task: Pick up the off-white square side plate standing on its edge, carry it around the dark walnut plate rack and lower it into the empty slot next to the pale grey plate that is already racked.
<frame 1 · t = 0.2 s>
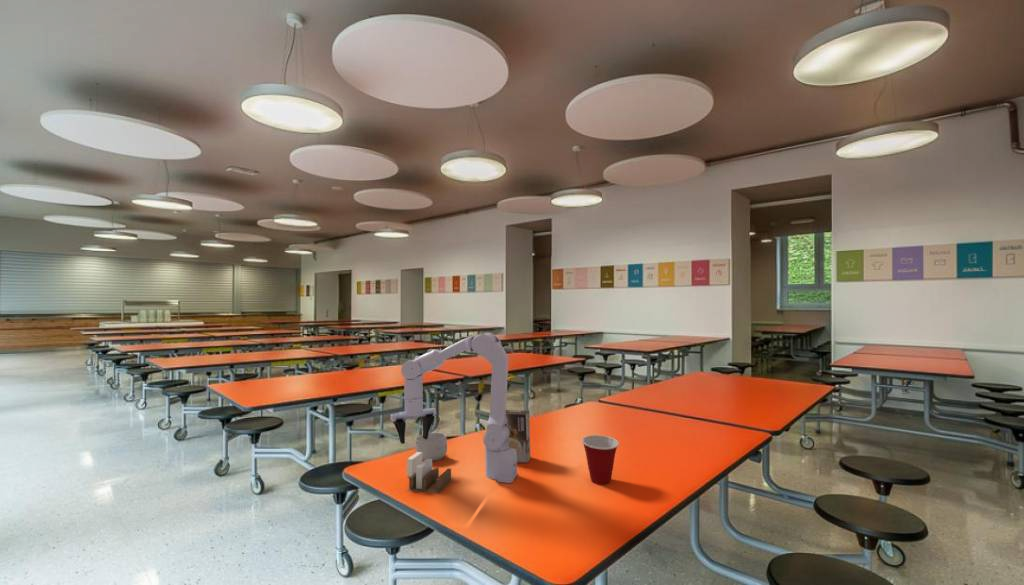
hand: (414, 440, 137), 10 cm above the table, fingers open, 7 cm apart
coffee box: (516, 459, 147), on the table
plate: (414, 475, 134), on the table
rack: (430, 487, 124), on the table
plastic cup: (601, 481, 127), on the table
racked plate: (424, 483, 125), point 1 cm above the table, touching rack
teacup: (433, 458, 150), on the table
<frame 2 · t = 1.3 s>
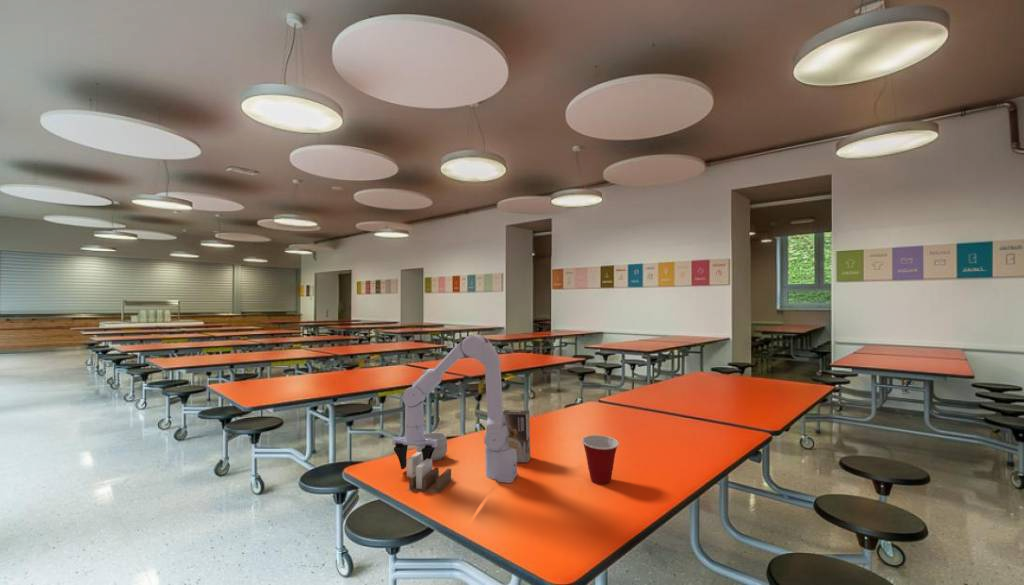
hand: (414, 468, 134), 2 cm above the table, fingers open, 7 cm apart
nothing on the table moved.
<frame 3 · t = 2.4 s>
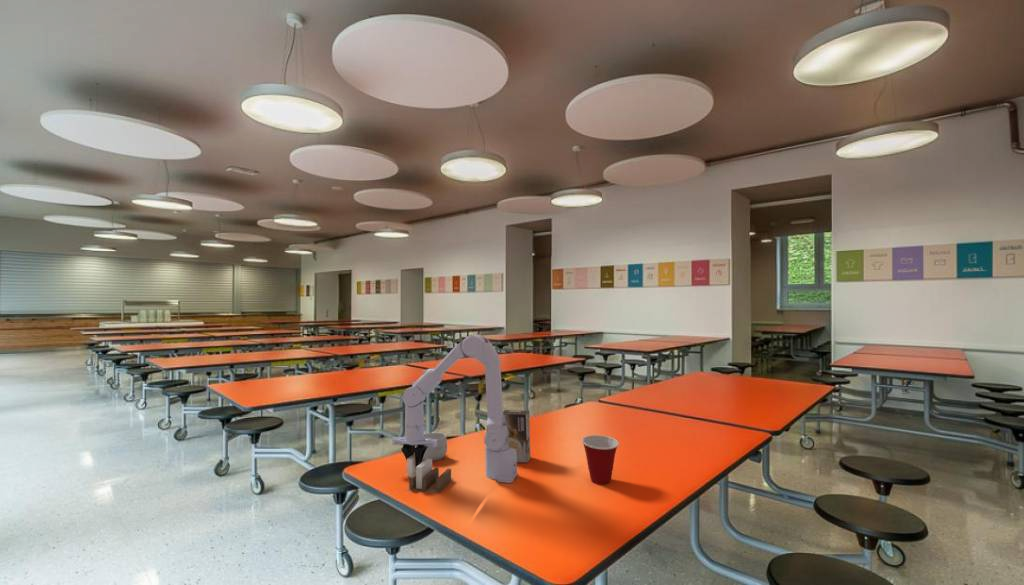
hand: (414, 468, 134), 2 cm above the table, fingers closed on plate, 2 cm apart
plate: (414, 474, 134), on the table, touching gripper
everything else where it was.
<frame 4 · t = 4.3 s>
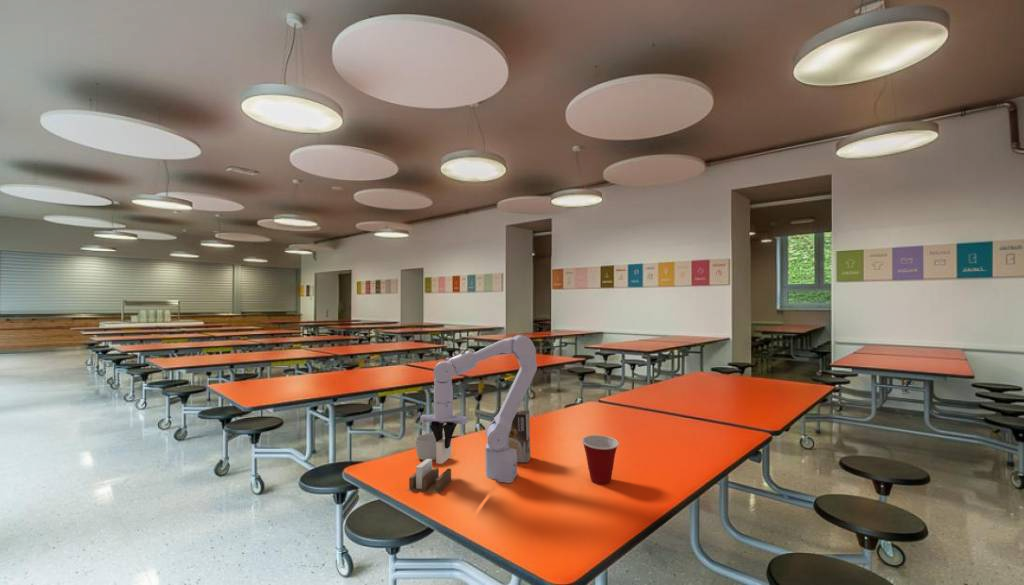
hand: (443, 447, 130), 10 cm above the table, fingers closed on plate
plate: (443, 459, 130), point 6 cm above the table, touching gripper
everything else where it was.
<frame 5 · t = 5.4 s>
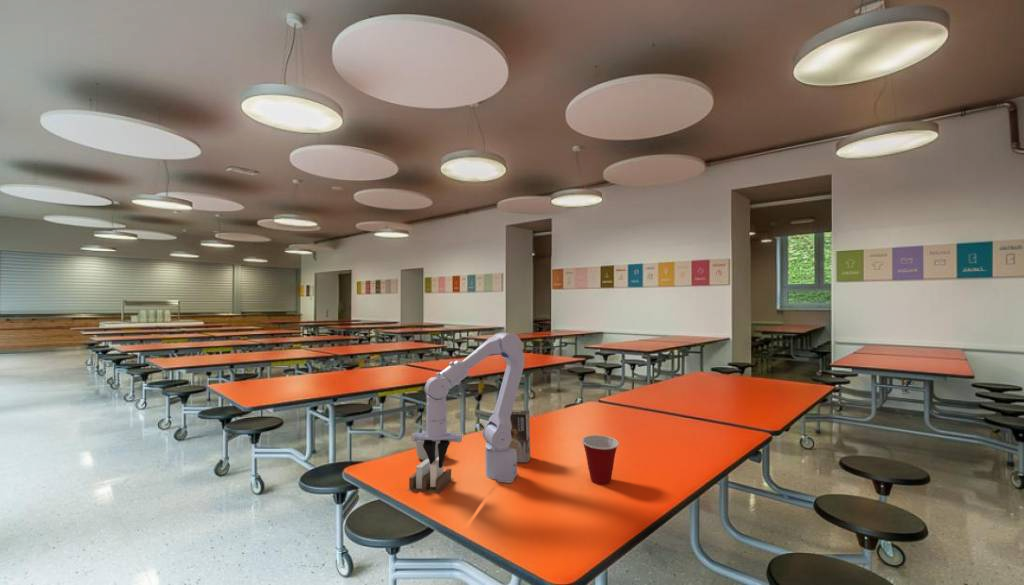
hand: (436, 466, 124), 6 cm above the table, fingers closed on plate, 2 cm apart
plate: (437, 482, 124), point 2 cm above the table, touching gripper
everything else where it was.
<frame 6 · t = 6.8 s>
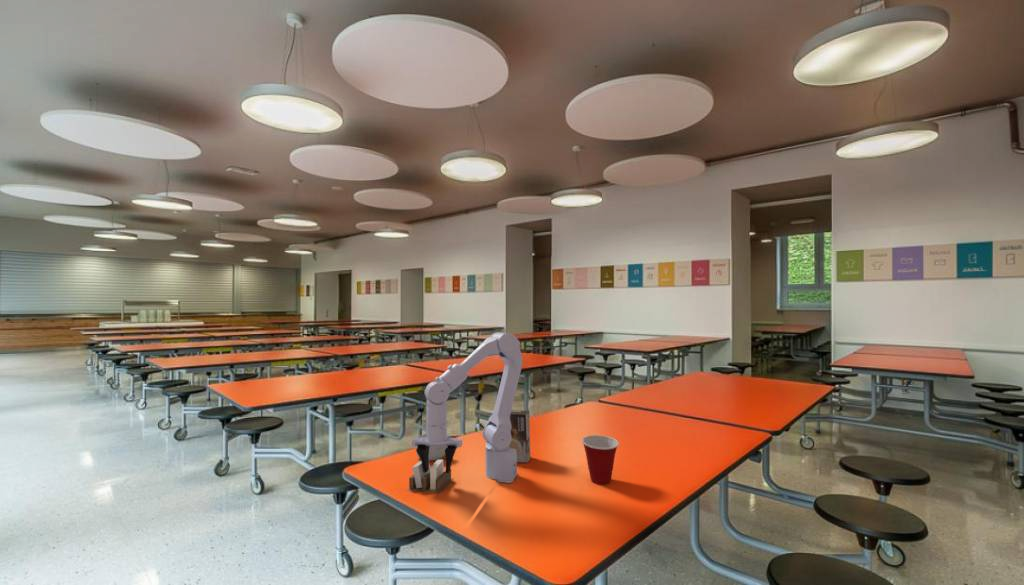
hand: (437, 471, 124), 5 cm above the table, fingers open, 6 cm apart
plate: (437, 484, 124), point 1 cm above the table, touching rack
racked plate: (424, 483, 125), point 1 cm above the table, tilted 12°, touching gripper, rack
everything else where it was.
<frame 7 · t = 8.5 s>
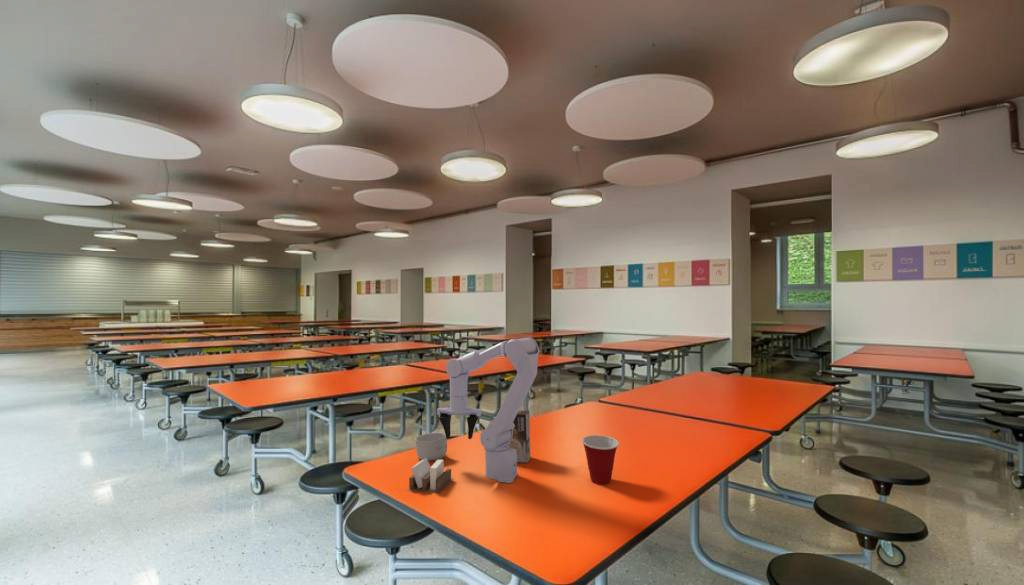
hand: (459, 437, 139), 10 cm above the table, fingers open, 7 cm apart
racked plate: (426, 482, 125), point 1 cm above the table, tilted 22°, touching rack
everything else where it was.
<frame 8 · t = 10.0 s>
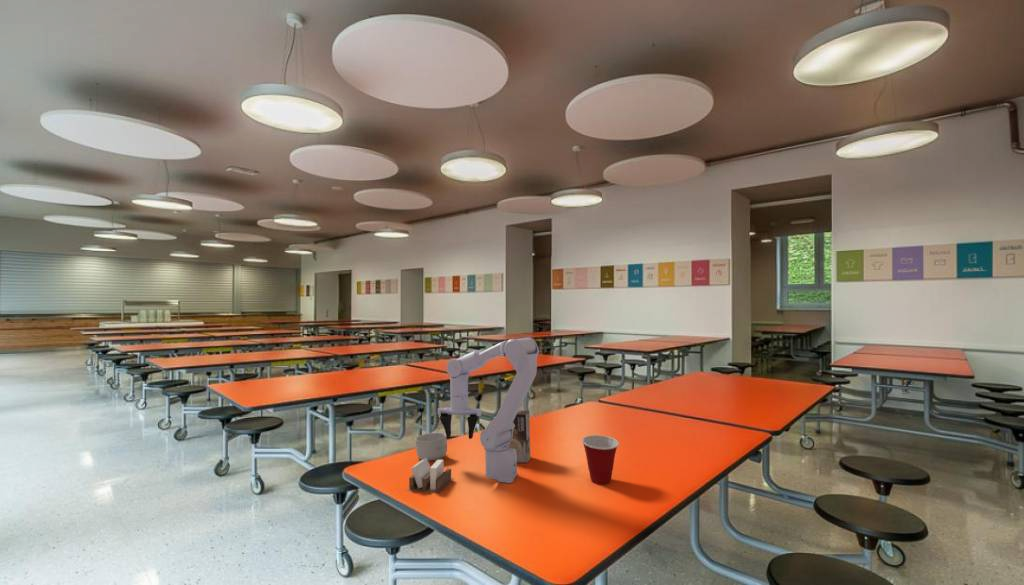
hand: (459, 437, 140), 10 cm above the table, fingers open, 7 cm apart
nothing on the table moved.
at the end: plate 0.0 cm from the target spot on the rack, point 0.8 cm above the rack's base; plate tilted 0°; the gripper is holding nothing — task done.
